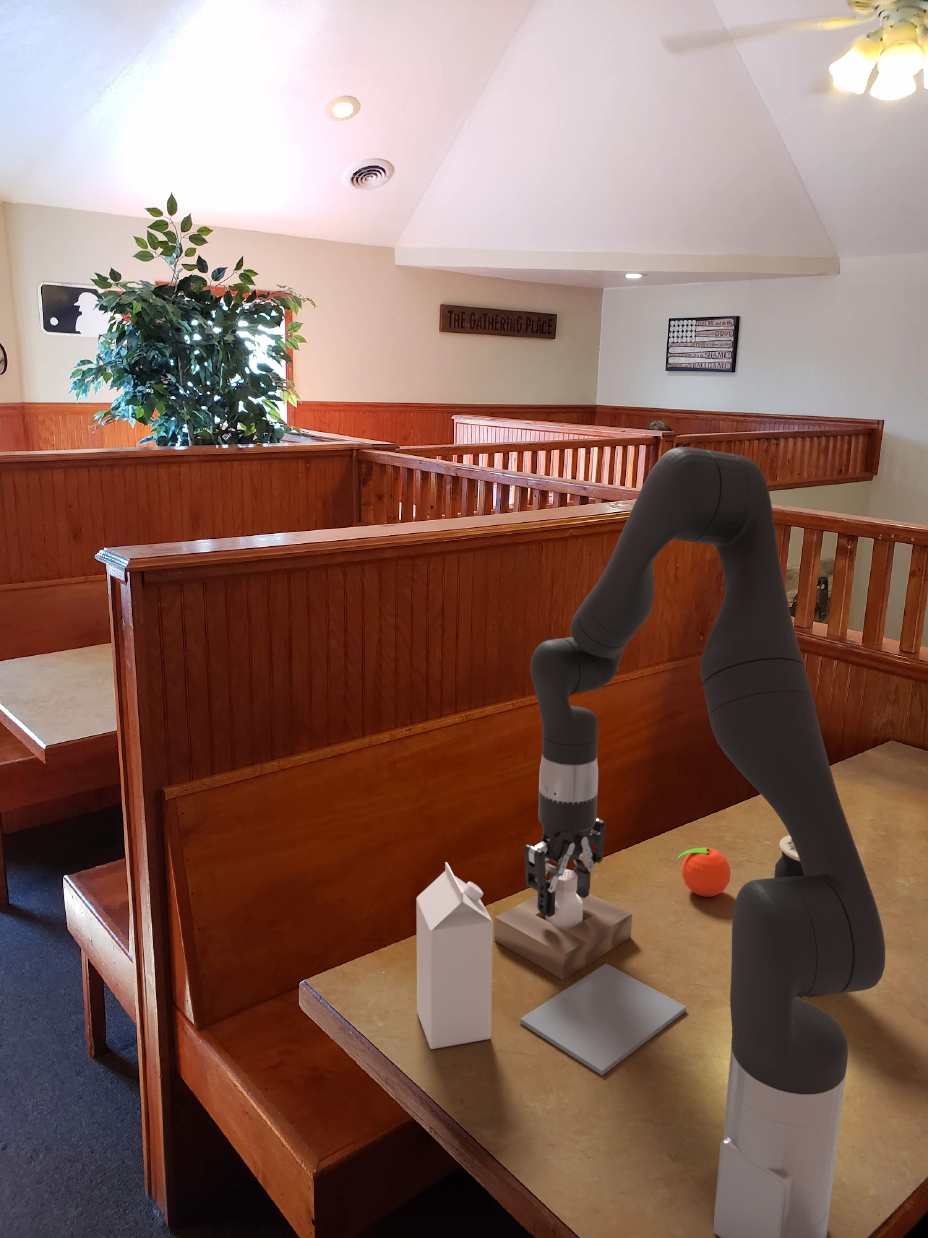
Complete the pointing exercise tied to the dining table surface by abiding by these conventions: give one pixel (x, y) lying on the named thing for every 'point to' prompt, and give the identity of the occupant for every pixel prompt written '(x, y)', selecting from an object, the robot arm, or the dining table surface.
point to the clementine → (705, 871)
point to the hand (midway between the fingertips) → (564, 904)
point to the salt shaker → (567, 902)
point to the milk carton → (454, 962)
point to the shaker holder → (563, 935)
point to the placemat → (603, 1017)
